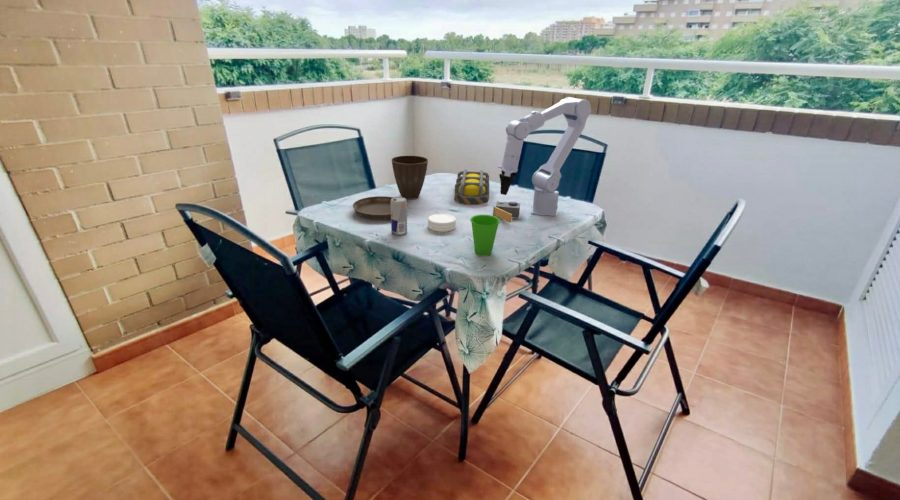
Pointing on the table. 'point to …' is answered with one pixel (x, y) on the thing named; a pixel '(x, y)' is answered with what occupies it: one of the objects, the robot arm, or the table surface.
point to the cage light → (472, 188)
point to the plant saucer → (374, 207)
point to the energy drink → (398, 215)
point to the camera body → (509, 208)
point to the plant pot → (409, 175)
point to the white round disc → (441, 222)
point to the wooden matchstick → (502, 214)
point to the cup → (484, 233)
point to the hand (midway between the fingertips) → (504, 192)
